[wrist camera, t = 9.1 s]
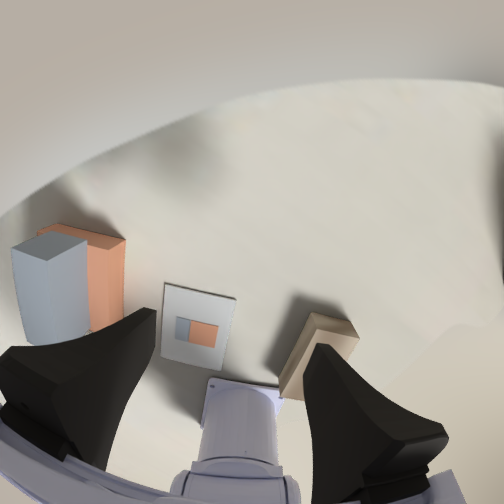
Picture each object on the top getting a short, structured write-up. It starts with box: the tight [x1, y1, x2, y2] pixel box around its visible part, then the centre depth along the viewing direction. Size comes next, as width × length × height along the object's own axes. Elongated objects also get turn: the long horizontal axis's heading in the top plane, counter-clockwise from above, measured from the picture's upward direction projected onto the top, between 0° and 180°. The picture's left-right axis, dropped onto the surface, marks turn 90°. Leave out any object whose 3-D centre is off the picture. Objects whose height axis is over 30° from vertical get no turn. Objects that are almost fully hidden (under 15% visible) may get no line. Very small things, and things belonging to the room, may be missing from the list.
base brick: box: [37, 224, 126, 332], centre depth 20 cm, size 8×8×3 cm
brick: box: [278, 312, 360, 401], centre depth 23 cm, size 4×8×3 cm, turn 162°
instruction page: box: [161, 284, 236, 371], centre depth 23 cm, size 8×6×1 cm
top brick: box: [11, 231, 91, 346], centre depth 16 cm, size 8×4×5 cm, turn 168°
